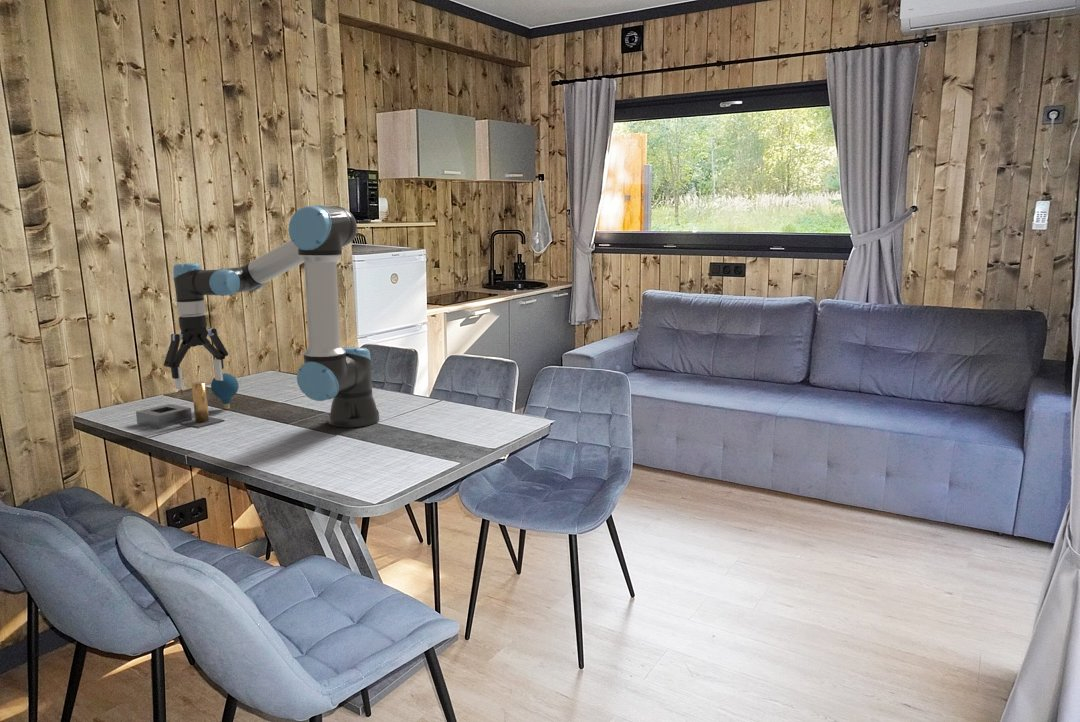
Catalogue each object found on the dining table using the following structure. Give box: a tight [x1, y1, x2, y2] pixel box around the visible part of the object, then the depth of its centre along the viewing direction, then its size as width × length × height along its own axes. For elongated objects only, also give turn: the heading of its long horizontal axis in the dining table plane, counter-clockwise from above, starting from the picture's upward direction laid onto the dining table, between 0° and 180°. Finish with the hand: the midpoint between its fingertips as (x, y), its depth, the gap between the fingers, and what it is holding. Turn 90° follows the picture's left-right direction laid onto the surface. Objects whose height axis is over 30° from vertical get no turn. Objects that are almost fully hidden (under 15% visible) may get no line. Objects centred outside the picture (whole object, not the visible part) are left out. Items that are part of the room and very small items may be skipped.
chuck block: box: [135, 403, 193, 430], centre depth 233 cm, size 11×11×4 cm
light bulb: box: [210, 372, 240, 410], centre depth 248 cm, size 8×8×12 cm
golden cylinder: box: [191, 381, 210, 423], centre depth 232 cm, size 4×4×12 cm
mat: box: [179, 416, 225, 429], centre depth 233 cm, size 9×9×1 cm
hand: (200, 384), depth 230 cm, fingers open, 13 cm apart
